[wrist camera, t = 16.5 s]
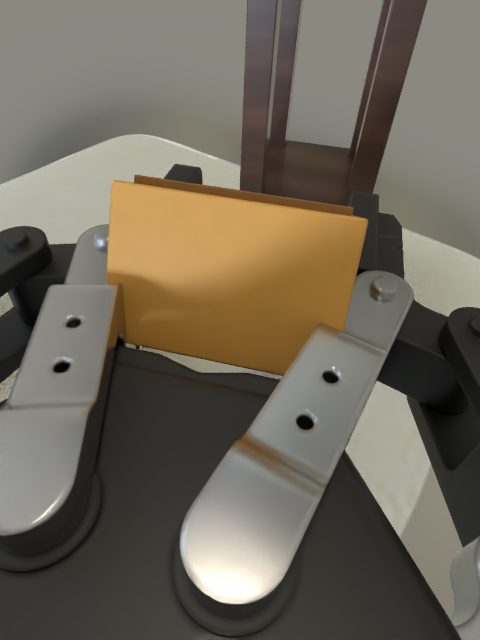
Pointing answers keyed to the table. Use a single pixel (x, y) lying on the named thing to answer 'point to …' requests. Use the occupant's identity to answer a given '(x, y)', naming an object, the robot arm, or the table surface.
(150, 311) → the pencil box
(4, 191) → the table surface
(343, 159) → the stand
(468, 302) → the table surface
